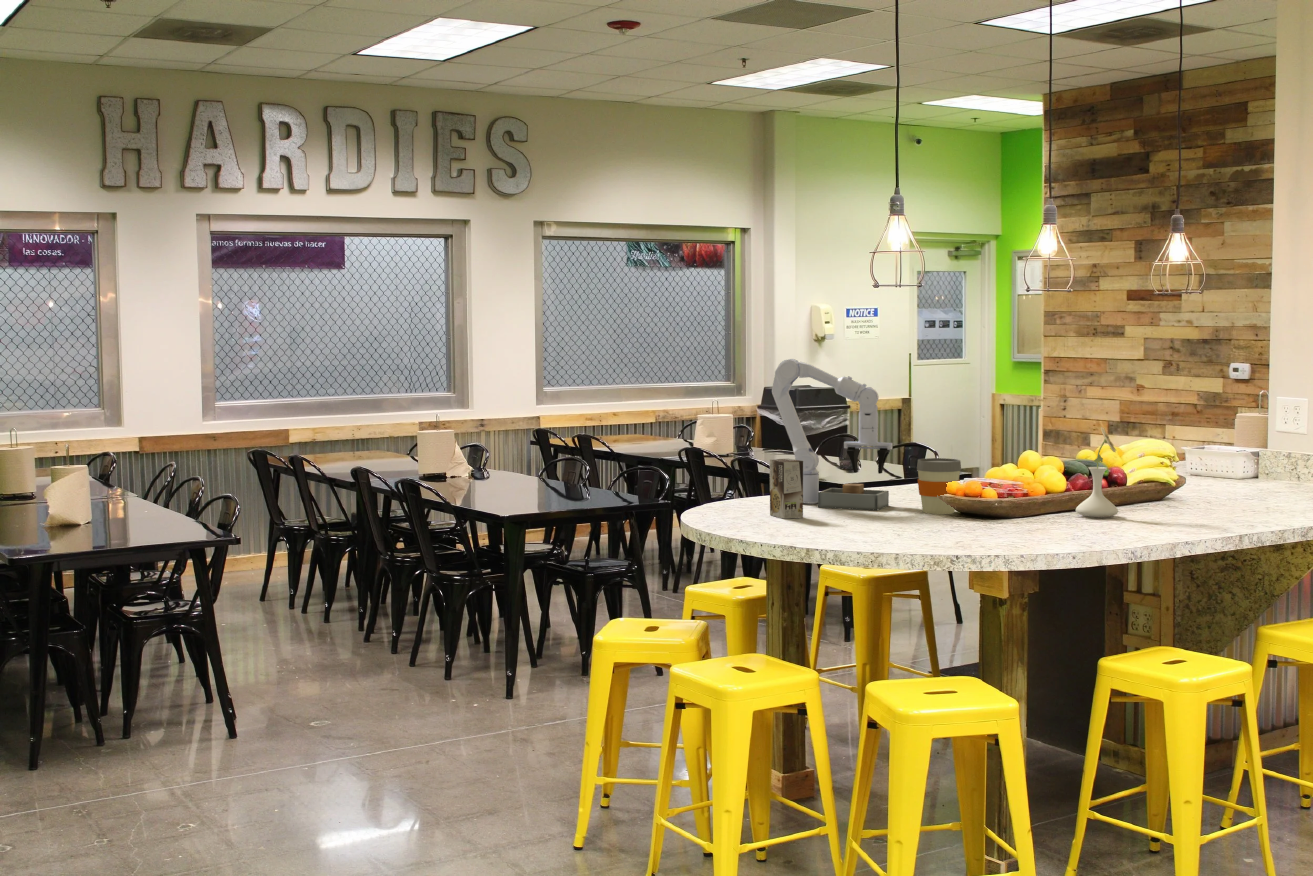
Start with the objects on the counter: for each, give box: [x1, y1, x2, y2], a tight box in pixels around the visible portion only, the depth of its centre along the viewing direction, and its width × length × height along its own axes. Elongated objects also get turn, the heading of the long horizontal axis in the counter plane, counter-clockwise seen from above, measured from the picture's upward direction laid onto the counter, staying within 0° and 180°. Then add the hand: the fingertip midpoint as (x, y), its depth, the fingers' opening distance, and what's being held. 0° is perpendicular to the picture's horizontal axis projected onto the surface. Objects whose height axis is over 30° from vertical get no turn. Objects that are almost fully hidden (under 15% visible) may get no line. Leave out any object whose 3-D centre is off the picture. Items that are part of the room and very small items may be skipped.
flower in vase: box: [1075, 427, 1119, 518], centre depth 377 cm, size 13×11×25 cm
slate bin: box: [817, 487, 890, 511], centre depth 402 cm, size 18×12×4 cm, turn 65°
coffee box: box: [769, 458, 804, 520], centre depth 381 cm, size 9×6×16 cm
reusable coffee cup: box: [916, 457, 962, 515], centre depth 389 cm, size 13×13×15 cm
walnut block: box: [842, 483, 865, 494], centre depth 402 cm, size 5×5×6 cm
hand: (867, 472), depth 408 cm, fingers open, 7 cm apart
